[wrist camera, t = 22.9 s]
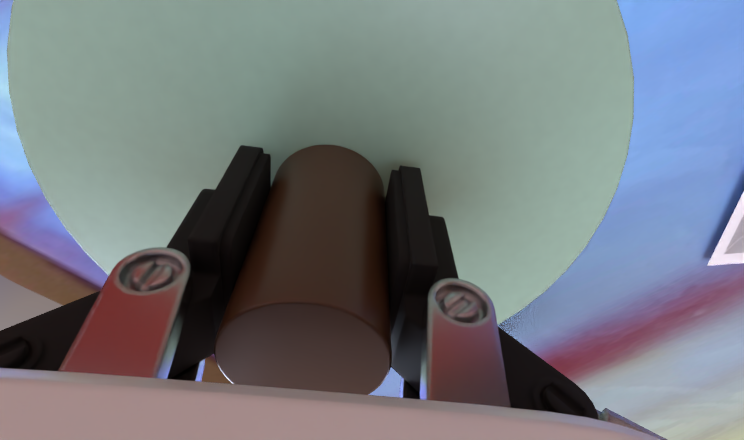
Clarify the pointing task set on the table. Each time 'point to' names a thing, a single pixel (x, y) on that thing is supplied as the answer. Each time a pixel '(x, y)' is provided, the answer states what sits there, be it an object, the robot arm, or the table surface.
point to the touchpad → (731, 239)
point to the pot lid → (328, 148)
